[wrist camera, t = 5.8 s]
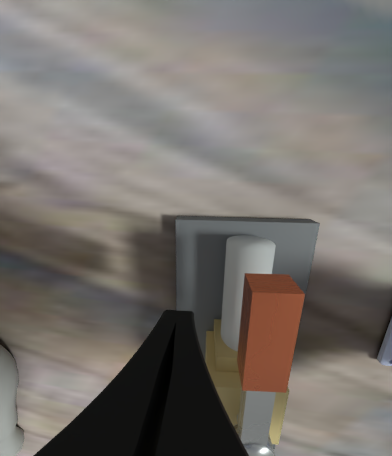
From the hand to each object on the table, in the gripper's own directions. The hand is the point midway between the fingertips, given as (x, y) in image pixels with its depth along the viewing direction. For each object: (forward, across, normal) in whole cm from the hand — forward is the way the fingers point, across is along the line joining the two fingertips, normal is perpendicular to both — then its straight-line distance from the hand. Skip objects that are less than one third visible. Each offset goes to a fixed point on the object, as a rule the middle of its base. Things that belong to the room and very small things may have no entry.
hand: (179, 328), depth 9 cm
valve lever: (+1, -4, +3) cm, 5 cm away
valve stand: (+7, -4, +8) cm, 11 cm away
